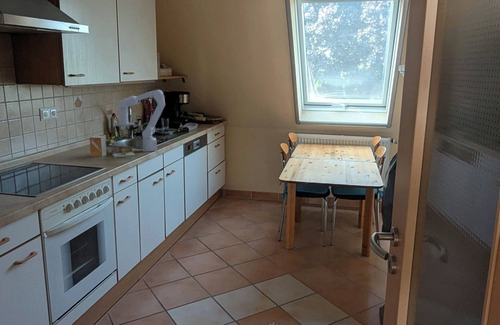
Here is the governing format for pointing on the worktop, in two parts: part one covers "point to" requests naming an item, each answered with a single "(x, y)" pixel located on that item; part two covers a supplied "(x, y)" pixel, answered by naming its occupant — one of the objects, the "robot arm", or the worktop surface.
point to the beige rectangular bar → (112, 142)
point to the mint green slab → (123, 154)
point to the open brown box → (118, 149)
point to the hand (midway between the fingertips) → (125, 136)
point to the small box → (98, 146)
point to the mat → (124, 156)
